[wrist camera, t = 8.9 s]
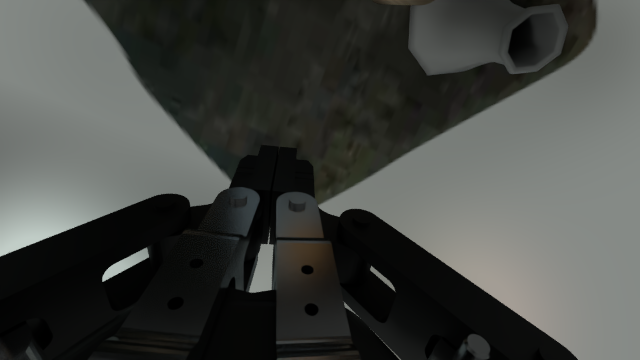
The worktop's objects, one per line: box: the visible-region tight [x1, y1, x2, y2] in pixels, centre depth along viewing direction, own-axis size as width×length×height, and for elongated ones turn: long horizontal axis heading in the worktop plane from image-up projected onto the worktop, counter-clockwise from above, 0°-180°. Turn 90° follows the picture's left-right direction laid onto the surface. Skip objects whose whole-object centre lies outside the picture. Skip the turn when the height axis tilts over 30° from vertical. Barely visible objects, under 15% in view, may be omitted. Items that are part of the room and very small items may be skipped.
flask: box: [408, 0, 569, 75], centre depth 19 cm, size 7×7×10 cm
